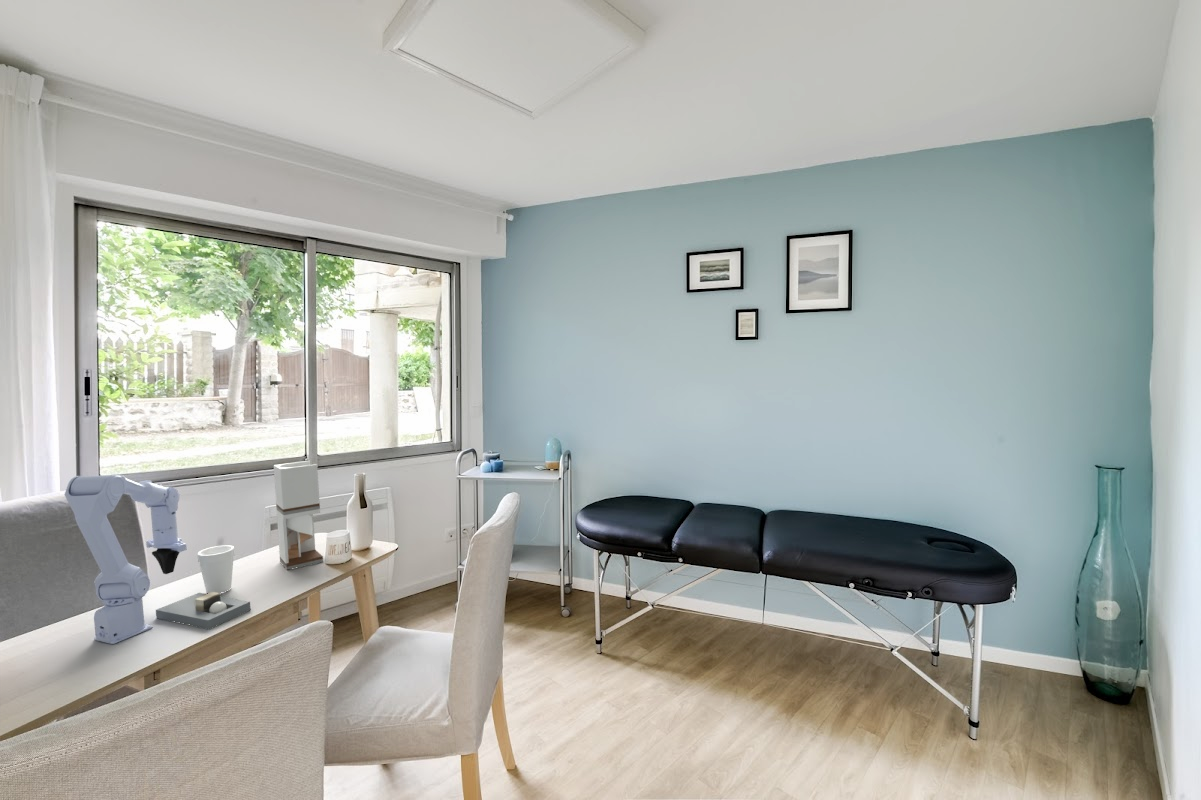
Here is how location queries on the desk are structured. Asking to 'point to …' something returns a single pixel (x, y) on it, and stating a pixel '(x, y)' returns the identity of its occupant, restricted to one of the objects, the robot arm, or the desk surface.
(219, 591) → the foam cup
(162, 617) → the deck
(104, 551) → the robot arm
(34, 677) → the desk surface
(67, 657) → the desk surface
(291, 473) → the white coffee grinder
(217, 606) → the ball
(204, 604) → the cream rectangular block
